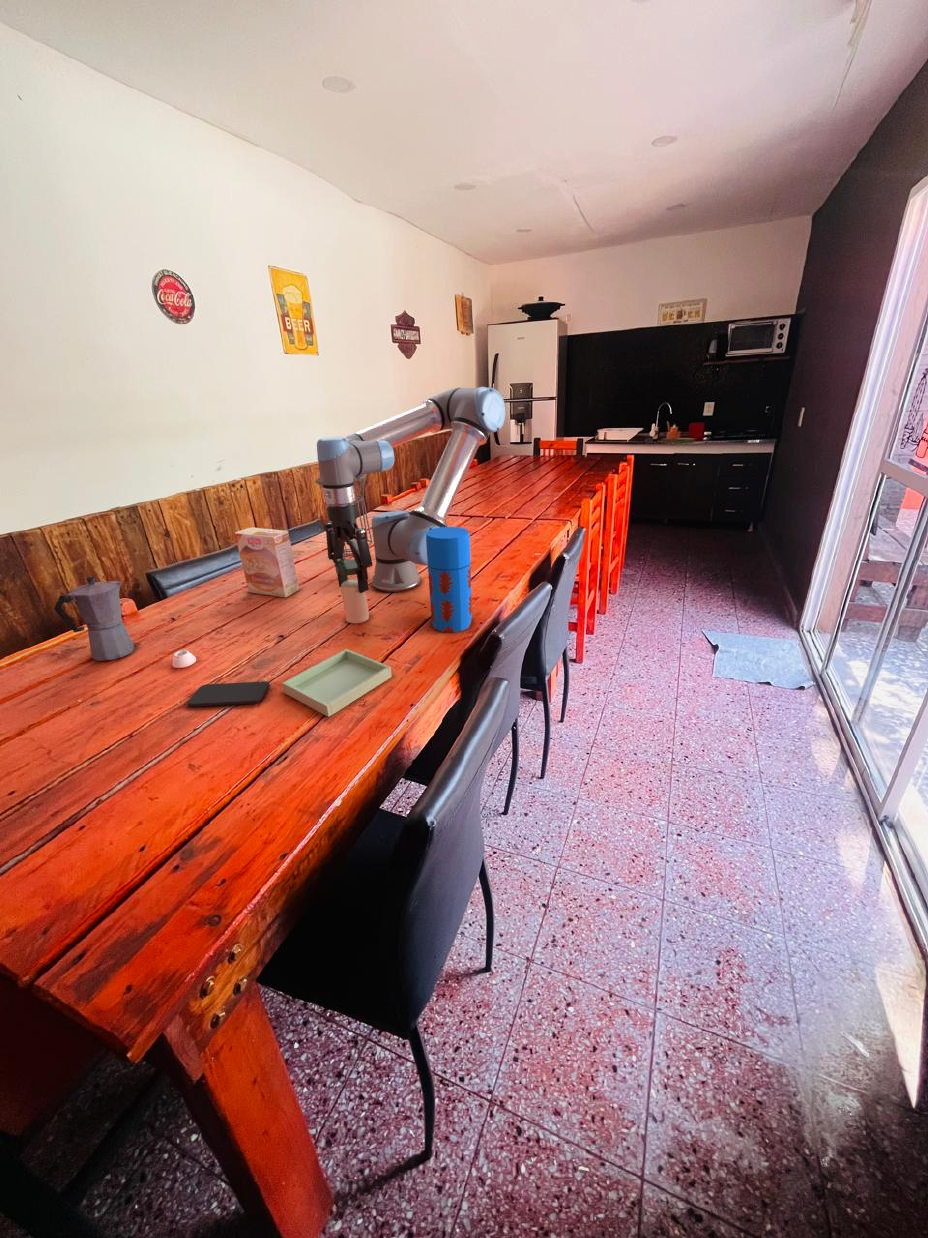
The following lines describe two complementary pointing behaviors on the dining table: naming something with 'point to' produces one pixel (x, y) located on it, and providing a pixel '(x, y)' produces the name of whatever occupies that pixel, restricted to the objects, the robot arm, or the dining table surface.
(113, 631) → the moka pot
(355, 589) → the jar
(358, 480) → the geometric lantern
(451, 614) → the thermos
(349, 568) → the jar lid
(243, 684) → the phone
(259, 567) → the coffeecake box
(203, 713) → the dining table surface
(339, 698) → the tray
